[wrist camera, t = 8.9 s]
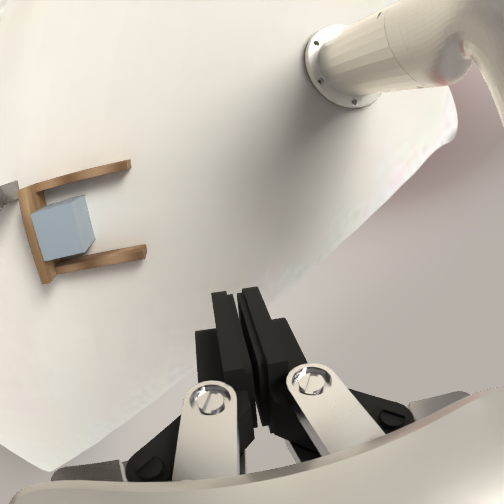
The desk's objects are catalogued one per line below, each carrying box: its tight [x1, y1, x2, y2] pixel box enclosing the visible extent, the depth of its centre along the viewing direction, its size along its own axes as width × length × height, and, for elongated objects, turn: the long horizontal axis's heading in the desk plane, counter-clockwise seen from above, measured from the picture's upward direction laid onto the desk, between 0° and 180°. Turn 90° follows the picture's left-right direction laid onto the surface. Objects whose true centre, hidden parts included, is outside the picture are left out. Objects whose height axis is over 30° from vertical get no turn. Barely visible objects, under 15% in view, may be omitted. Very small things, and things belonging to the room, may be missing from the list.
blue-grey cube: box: [30, 195, 95, 261], centre depth 32 cm, size 6×6×5 cm
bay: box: [17, 160, 147, 284], centre depth 32 cm, size 14×12×5 cm
